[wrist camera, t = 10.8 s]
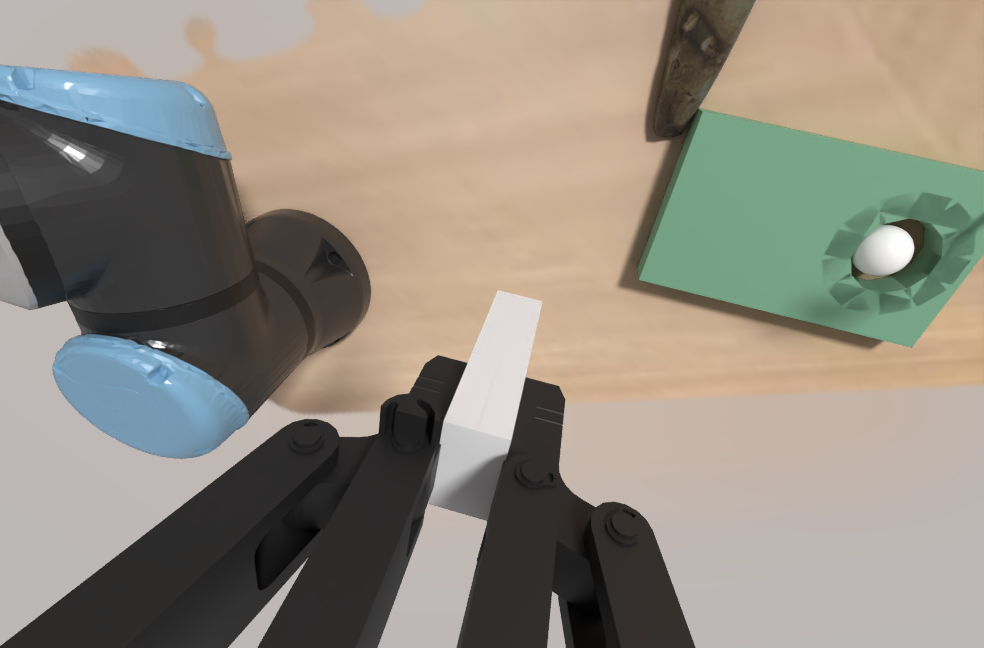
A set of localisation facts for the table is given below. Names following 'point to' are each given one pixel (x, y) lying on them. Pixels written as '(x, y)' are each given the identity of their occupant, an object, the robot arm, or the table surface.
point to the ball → (883, 251)
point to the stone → (696, 58)
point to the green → (811, 226)
